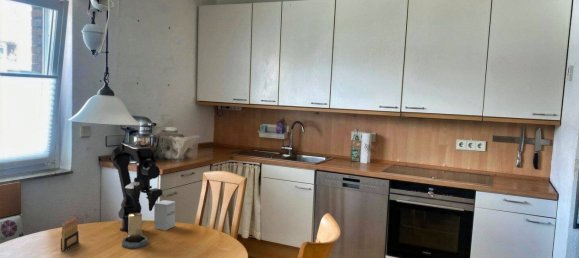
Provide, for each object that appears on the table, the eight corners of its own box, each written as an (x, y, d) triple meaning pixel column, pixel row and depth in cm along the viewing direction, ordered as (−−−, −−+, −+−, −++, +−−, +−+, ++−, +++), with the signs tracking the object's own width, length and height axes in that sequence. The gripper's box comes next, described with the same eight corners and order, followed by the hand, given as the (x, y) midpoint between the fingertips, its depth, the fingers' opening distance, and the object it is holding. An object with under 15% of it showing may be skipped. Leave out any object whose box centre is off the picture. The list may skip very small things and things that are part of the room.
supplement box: (166, 230, 206) (166, 204, 205) (153, 228, 208) (153, 202, 207) (175, 226, 213) (175, 201, 212) (163, 224, 215) (163, 199, 214)
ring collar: (116, 245, 184) (116, 240, 184) (136, 238, 194) (136, 233, 194) (133, 250, 179) (133, 245, 179) (153, 243, 188) (153, 238, 188)
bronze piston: (127, 241, 187) (127, 213, 186) (140, 240, 190) (140, 212, 189) (129, 245, 183) (129, 217, 182) (143, 243, 186) (143, 215, 185)
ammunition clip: (64, 251, 176) (64, 222, 175) (60, 250, 176) (60, 222, 175) (78, 242, 187) (78, 215, 186) (74, 242, 187) (74, 215, 186)
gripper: (114, 175, 191) (114, 210, 192) (143, 180, 181) (143, 216, 183) (134, 172, 200) (134, 204, 201) (163, 176, 191) (163, 211, 192)
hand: (143, 209), depth 194 cm, fingers open, 9 cm apart
